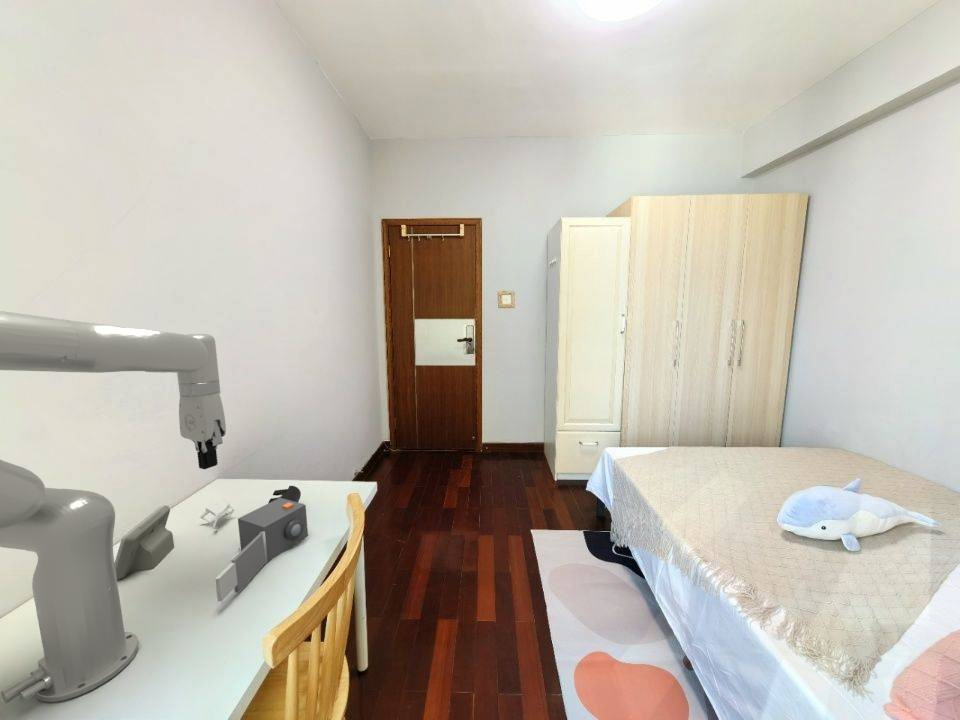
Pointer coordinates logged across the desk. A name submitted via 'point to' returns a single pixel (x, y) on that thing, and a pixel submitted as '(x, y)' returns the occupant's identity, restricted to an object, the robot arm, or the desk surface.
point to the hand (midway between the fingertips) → (208, 466)
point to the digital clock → (145, 544)
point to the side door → (242, 567)
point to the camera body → (275, 525)
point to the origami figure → (217, 511)
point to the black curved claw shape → (288, 494)
